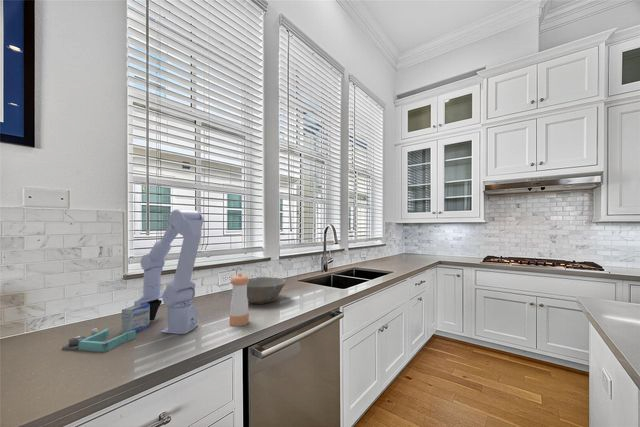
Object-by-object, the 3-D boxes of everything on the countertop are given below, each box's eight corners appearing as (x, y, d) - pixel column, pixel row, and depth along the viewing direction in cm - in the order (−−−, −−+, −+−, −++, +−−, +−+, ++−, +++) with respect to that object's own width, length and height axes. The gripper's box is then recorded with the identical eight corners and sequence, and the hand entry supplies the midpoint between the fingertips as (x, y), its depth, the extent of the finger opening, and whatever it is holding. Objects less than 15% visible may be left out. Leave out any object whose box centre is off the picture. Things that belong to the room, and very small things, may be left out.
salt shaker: (252, 322, 107) (253, 273, 107) (235, 327, 101) (236, 276, 102) (242, 318, 112) (243, 271, 112) (225, 322, 106) (226, 273, 107)
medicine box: (131, 334, 94) (132, 309, 95) (120, 333, 95) (121, 308, 96) (149, 326, 102) (150, 303, 102) (139, 325, 103) (140, 302, 103)
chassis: (136, 337, 92) (137, 328, 92) (106, 353, 81) (107, 342, 81) (96, 334, 94) (97, 325, 94) (62, 349, 83) (62, 338, 83)
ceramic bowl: (229, 303, 132) (230, 282, 133) (264, 293, 151) (264, 275, 151) (261, 311, 120) (261, 289, 120) (294, 299, 138) (294, 280, 139)
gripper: (156, 280, 114) (155, 313, 114) (127, 289, 100) (126, 326, 99) (171, 281, 113) (171, 314, 113) (144, 289, 99) (143, 327, 98)
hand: (151, 320), depth 106 cm, fingers closed
